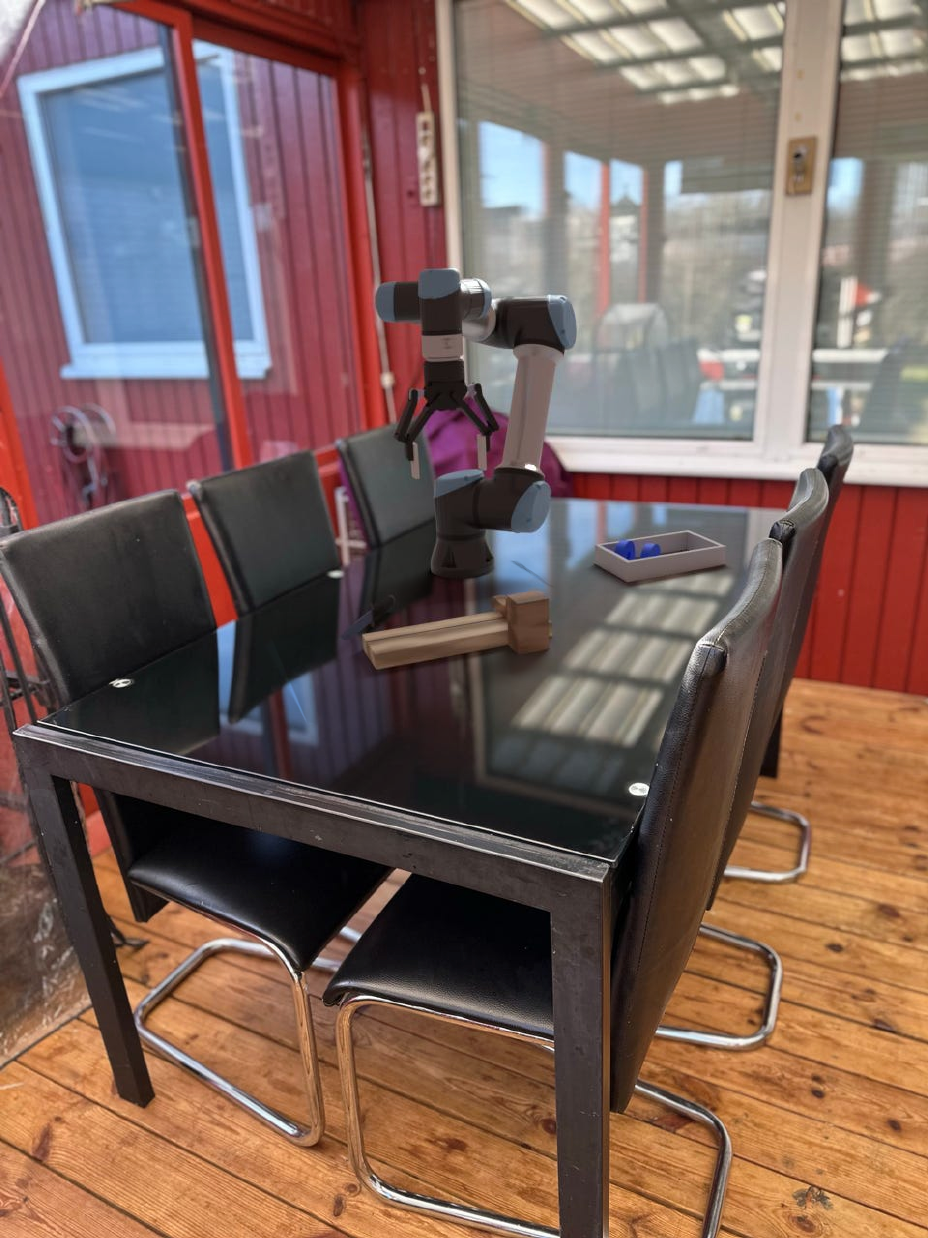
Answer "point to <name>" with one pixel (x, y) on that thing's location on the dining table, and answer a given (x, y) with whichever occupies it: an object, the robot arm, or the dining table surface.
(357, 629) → the knife
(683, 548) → the grey rectangular tray
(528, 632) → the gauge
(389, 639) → the board
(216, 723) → the dining table surface
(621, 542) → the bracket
